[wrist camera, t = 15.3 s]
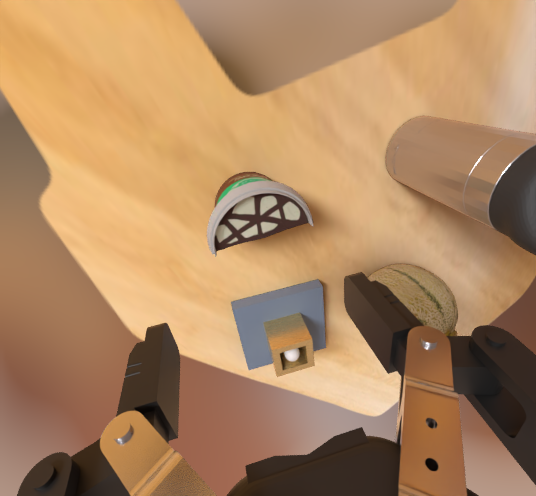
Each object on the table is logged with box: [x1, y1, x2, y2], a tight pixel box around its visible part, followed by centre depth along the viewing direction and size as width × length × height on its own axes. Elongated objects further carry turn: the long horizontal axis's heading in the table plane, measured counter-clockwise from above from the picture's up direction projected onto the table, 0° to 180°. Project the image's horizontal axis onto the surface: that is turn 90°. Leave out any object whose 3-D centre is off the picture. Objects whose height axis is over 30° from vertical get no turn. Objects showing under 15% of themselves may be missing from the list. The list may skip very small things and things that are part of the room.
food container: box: [207, 172, 313, 257], centre depth 35 cm, size 12×6×10 cm, turn 103°
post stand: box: [231, 279, 326, 370], centre depth 50 cm, size 15×15×8 cm
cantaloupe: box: [368, 264, 458, 336], centre depth 48 cm, size 15×15×15 cm
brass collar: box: [263, 312, 315, 377], centre depth 49 cm, size 6×6×6 cm
